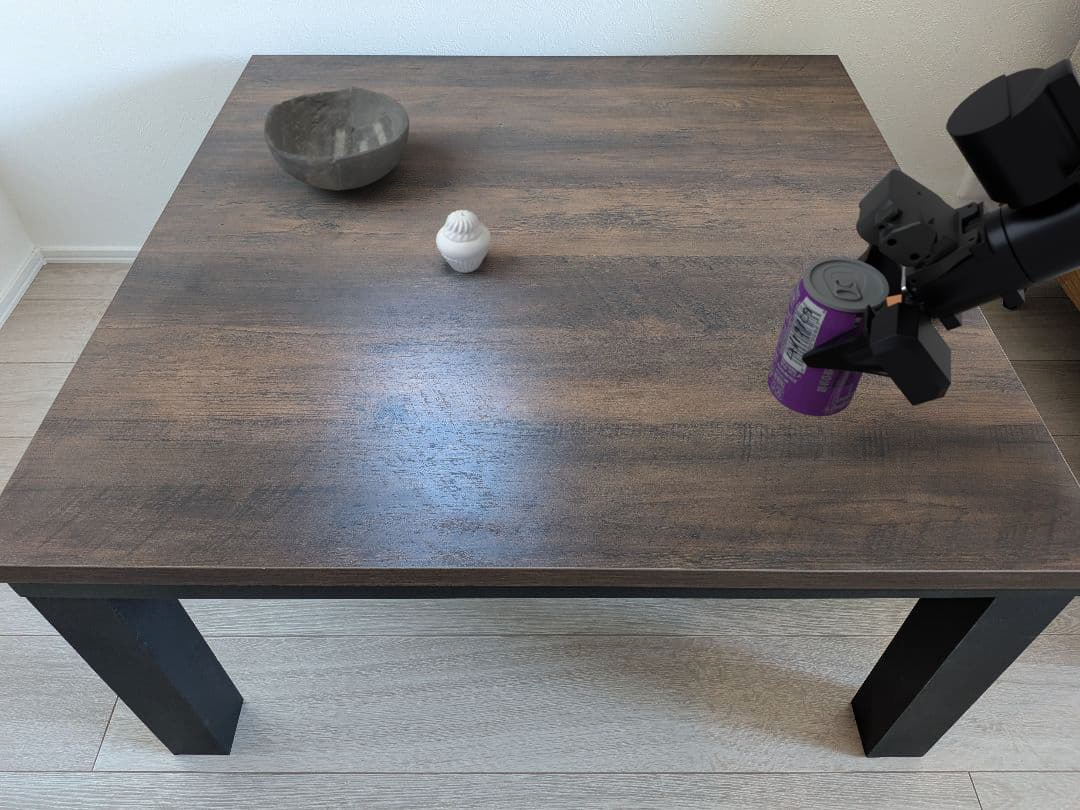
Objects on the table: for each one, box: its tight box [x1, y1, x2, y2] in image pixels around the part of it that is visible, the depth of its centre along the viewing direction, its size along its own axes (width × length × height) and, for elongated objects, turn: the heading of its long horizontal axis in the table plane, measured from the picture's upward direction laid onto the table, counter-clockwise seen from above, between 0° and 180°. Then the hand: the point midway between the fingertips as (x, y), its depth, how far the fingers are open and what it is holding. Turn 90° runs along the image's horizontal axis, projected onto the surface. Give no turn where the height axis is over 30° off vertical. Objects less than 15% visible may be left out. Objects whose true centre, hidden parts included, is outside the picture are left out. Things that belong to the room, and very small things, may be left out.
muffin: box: [435, 209, 492, 274], centre depth 87 cm, size 6×6×7 cm
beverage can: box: [767, 256, 889, 417], centre depth 63 cm, size 7×7×12 cm
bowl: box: [263, 86, 410, 191], centre depth 99 cm, size 18×18×8 cm
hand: (809, 331), depth 63 cm, fingers closed on beverage can, 7 cm apart
